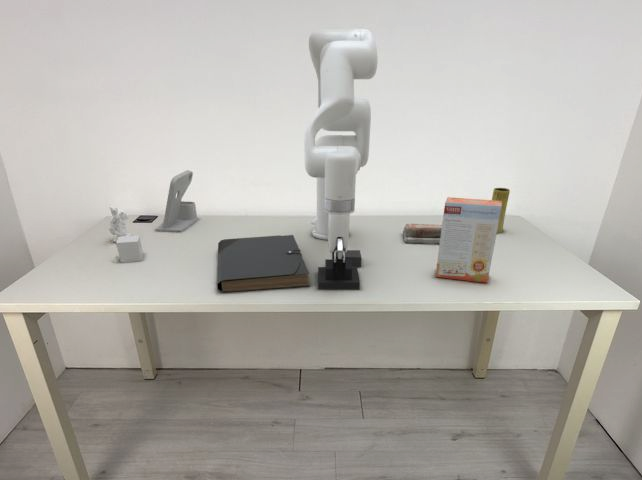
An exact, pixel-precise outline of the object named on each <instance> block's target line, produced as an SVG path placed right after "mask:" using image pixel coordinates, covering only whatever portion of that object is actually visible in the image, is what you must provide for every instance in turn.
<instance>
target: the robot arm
mask: <svg viewBox="0 0 642 480" xmlns="http://www.w3.org/2000/svg"><path fill="white" fill-rule="evenodd" d="M377 48H378V47H377V44H376V41H375V38H374V34H373V33H372V31H371V30H369V29H367V28H321V29H320V28H319V29H316V30H314V31H313V32H311V33H310V35H309V37H308V50H309V56H310V60H311V62H312V64H313V68H314V70H315V73H316V79H317V110H316V111H315V112H314V113H313V114H312V116H311V117H310V119H309V121H308V123H307V126H306V128H305V132H304V139H303V140H304V141H303V142H304V149H303V151H304V168H305V172H306V174H307V175H308V176H309V177H311V178H315V179H316V217H314V218H313V220H311V221H310V224H311V225H314V229H313V230H312V232H311V234H312V236H313V237H314V238H317V239H319V240H324V241H327V250H328V251H327V252H328V253H330V254H331V255H332V256H331V259H334V261H333V276H334V277H344V276H345V265H346V261H345V253H346V252H347V250H349V249H348V248H349V240H350V239H349V237H350V221H351V219H350V218H351V217H350V215H351V214H353V213H354V212H356V211H355V210H356V209H355V207H356V182H357V174H358V172H360V170H361V168H363V167H365V166H366V165H367V163H368V161H369V155H370V140H371V123H372V122H371V121H372V109H371V104H370V101H369V99H368V98H366V97H364V96H358V95H357V96H355V84H354V83H355V80H371V79H373V78H374V77H375V75H376V73H377V69H378V61H379V60H378V49H377ZM321 129H322V130H323V131H327V132H353V133H354V134H345V135H343V134H327V135H326V134H325V135H321V136H319V137H318V138H316V137H317V134H318V133H319V132H320V130H321Z"/></svg>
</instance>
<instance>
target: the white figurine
mask: <svg viewBox="0 0 642 480" xmlns="http://www.w3.org/2000/svg"><path fill="white" fill-rule="evenodd" d="M109 210H110V214H111V217H110V219H109V224H108V231H109V232H110V234H112V235H113V236H116V238H114V239H112V242H114V243H116V242H117V240H118V237H122V236H133V235H132V234H131V233H128V234H127V228H126V227H125V225H126V222H125V221H126V220H129V217H130V216H129V215H128V214H127V213H126V212H125V211H124V210H122V209H120V208H119V207H117V206H116V205H110V206H109Z"/></svg>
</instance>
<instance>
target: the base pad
mask: <svg viewBox="0 0 642 480" xmlns="http://www.w3.org/2000/svg"><path fill="white" fill-rule="evenodd" d="M360 287H361V280H360V275H359V269H358V267H352V279H326V277H325V266H318V267H317V290H360V289H361V288H360Z"/></svg>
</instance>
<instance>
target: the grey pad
mask: <svg viewBox="0 0 642 480" xmlns="http://www.w3.org/2000/svg"><path fill="white" fill-rule="evenodd" d="M345 259H351V263H352V267H357V268H361V267H362V254H361V250H359V249H347V252H346V253H345Z"/></svg>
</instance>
